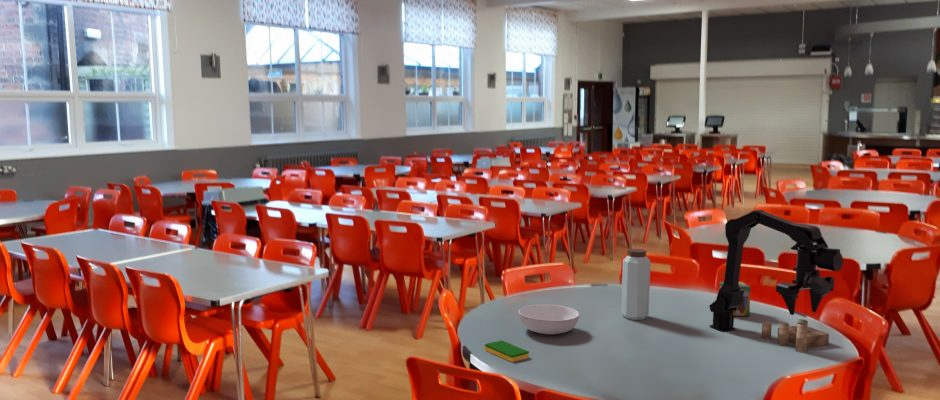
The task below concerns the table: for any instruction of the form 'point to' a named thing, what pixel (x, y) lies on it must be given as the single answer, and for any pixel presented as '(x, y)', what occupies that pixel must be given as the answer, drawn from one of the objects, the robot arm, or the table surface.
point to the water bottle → (635, 285)
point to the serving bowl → (548, 318)
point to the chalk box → (745, 304)
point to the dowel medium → (783, 333)
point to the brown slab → (809, 336)
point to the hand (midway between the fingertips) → (803, 313)
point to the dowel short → (766, 330)
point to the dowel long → (801, 335)
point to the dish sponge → (506, 351)
